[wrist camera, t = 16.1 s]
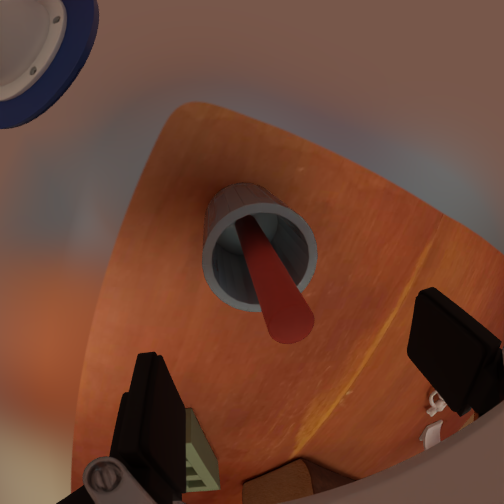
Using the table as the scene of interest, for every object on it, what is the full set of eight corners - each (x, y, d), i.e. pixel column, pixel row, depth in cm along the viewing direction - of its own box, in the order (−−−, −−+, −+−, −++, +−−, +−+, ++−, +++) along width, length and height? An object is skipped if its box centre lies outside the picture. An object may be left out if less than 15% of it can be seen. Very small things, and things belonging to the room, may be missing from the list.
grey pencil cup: (212, 264, 29) (215, 321, 19) (197, 190, 26) (191, 215, 17) (285, 250, 29) (320, 299, 20) (276, 176, 27) (312, 194, 17)
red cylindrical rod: (238, 238, 27) (273, 350, 12) (232, 218, 27) (263, 313, 12) (259, 232, 27) (317, 336, 13) (254, 211, 27) (310, 298, 12)
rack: (181, 464, 40) (181, 492, 35) (147, 411, 35) (142, 445, 29) (217, 460, 41) (220, 489, 35) (191, 407, 35) (191, 443, 30)
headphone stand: (441, 419, 49) (466, 454, 38) (431, 434, 51) (453, 468, 40) (426, 426, 48) (451, 462, 37) (417, 441, 50) (439, 476, 39)
